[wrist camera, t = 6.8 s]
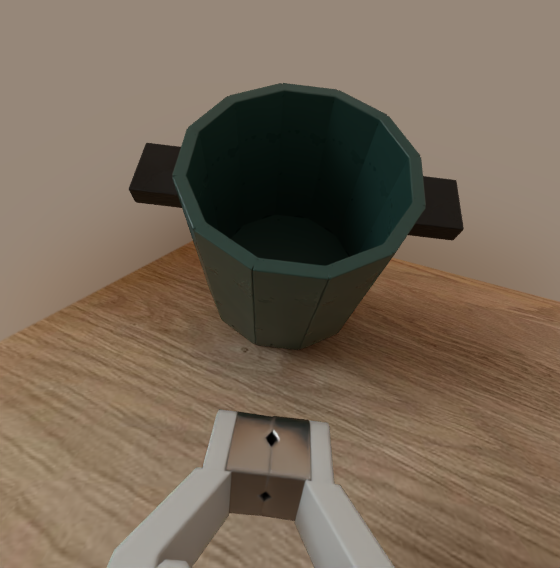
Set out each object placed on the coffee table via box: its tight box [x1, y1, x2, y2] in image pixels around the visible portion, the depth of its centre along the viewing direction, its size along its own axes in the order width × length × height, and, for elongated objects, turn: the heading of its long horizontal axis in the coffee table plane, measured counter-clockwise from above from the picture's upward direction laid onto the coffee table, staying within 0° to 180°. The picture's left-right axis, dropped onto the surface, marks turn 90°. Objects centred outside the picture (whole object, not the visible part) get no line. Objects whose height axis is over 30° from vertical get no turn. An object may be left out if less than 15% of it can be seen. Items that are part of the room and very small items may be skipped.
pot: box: [129, 83, 463, 350], centre depth 20 cm, size 16×11×11 cm
